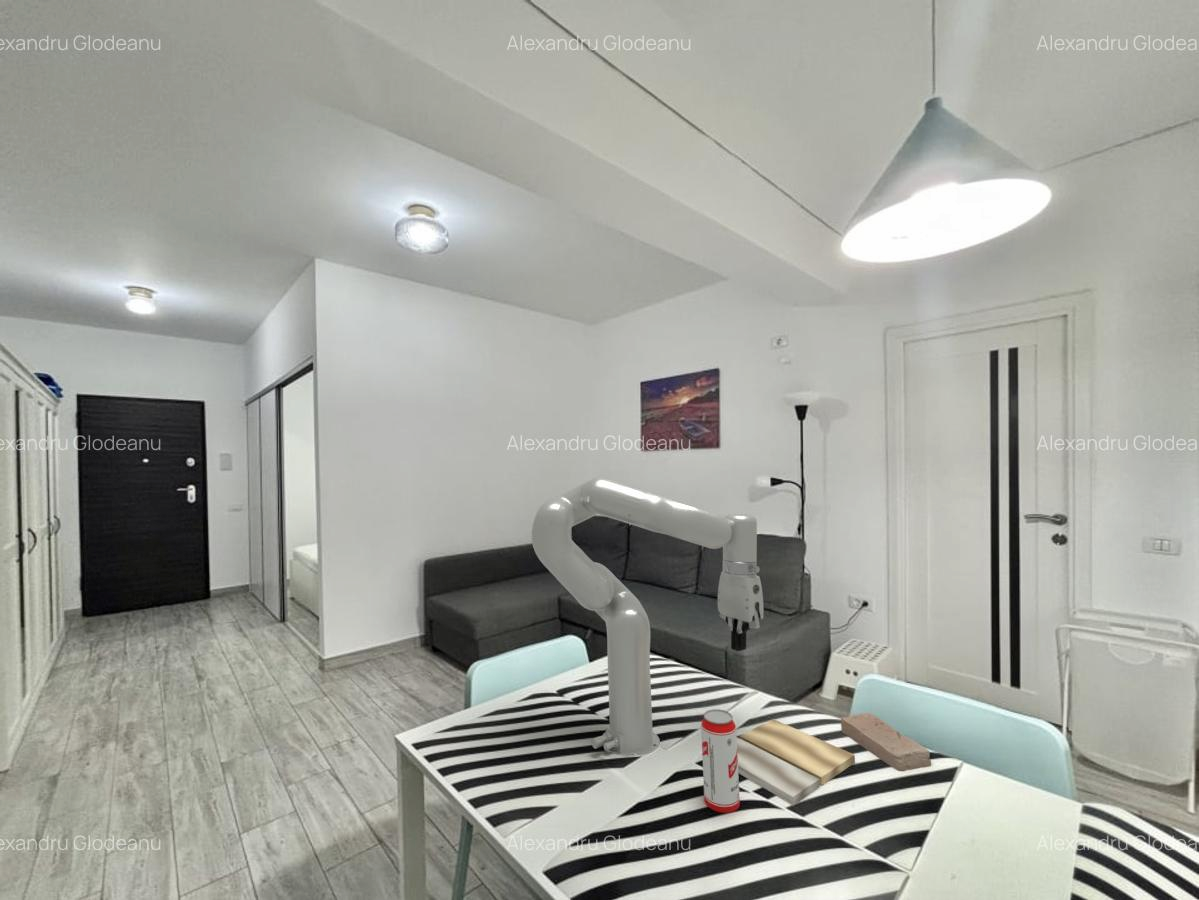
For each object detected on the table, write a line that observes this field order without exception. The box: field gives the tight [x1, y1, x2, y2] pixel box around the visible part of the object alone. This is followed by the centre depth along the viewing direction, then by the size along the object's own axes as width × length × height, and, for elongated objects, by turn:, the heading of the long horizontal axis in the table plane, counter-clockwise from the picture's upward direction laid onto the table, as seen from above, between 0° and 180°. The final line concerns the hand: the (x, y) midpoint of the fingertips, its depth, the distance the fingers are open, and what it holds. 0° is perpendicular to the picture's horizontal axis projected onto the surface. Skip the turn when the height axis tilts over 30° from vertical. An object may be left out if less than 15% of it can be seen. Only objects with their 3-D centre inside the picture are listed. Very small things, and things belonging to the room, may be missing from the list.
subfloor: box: [737, 737, 820, 806], centre depth 101 cm, size 24×20×2 cm
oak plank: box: [739, 718, 856, 786], centre depth 103 cm, size 12×19×2 cm, turn 35°
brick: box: [840, 712, 932, 772], centre depth 104 cm, size 17×8×5 cm, turn 13°
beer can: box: [700, 708, 741, 814], centre depth 89 cm, size 6×6×16 cm
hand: (738, 649), depth 112 cm, fingers closed
